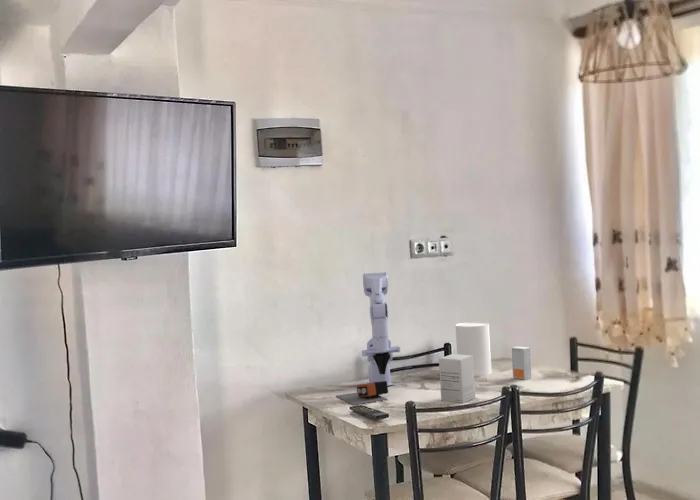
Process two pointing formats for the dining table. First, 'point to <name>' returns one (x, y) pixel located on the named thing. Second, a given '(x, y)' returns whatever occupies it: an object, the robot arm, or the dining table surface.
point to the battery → (372, 389)
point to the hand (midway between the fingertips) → (382, 373)
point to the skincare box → (521, 362)
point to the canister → (475, 345)
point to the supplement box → (457, 378)
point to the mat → (359, 398)
